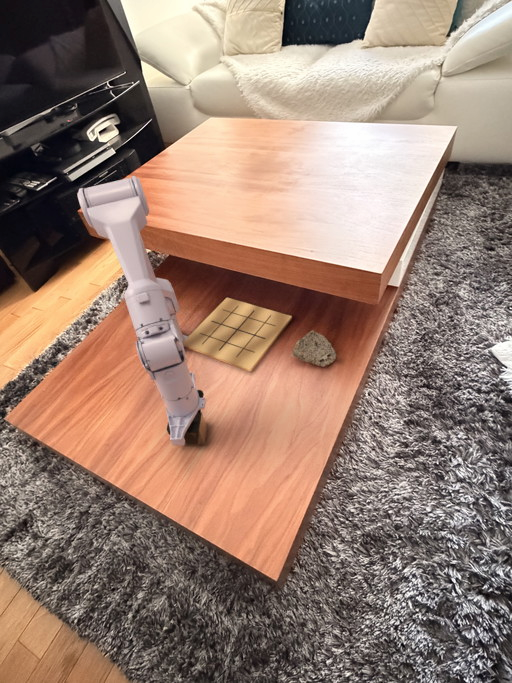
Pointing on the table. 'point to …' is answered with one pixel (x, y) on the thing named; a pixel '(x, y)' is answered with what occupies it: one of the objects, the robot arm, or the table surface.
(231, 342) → the game board
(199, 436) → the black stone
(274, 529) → the table surface
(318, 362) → the rock sample
